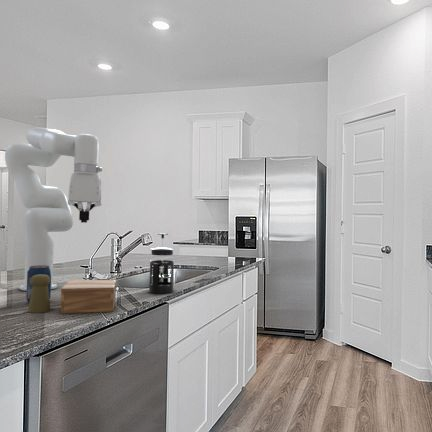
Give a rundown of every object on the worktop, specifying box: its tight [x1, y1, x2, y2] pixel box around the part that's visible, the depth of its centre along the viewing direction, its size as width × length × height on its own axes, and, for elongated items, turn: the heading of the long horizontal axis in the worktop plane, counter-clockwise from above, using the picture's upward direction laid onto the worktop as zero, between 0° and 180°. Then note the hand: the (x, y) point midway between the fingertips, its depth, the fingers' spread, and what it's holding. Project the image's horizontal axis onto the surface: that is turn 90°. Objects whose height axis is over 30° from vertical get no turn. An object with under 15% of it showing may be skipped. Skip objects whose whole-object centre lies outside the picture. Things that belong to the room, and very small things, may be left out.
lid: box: [60, 278, 117, 292], centre depth 138 cm, size 16×15×1 cm
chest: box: [60, 283, 117, 315], centre depth 138 cm, size 16×15×7 cm
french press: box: [148, 232, 175, 295], centre depth 167 cm, size 12×9×23 cm
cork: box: [27, 274, 52, 314], centre depth 132 cm, size 6×6×11 cm
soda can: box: [26, 265, 52, 304], centre depth 143 cm, size 7×7×12 cm
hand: (84, 222), depth 150 cm, fingers closed
